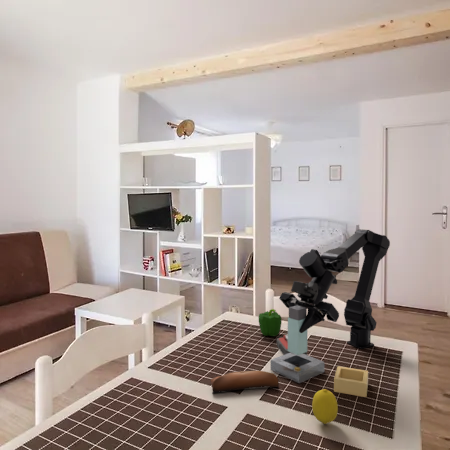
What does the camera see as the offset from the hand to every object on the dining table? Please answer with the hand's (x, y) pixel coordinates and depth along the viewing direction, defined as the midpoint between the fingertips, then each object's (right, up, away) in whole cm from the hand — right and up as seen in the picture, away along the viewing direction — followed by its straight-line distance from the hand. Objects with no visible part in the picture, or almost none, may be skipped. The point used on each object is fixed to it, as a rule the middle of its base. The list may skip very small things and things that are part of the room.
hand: (294, 330), depth 112 cm
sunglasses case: (-15, -14, -6) cm, 21 cm away
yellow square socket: (+14, -13, -8) cm, 21 cm away
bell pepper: (-3, -11, +32) cm, 34 cm away
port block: (+1, -12, +2) cm, 13 cm away
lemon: (+2, -14, -25) cm, 29 cm away
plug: (+1, -7, +1) cm, 7 cm away
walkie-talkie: (+2, -12, +20) cm, 23 cm away
